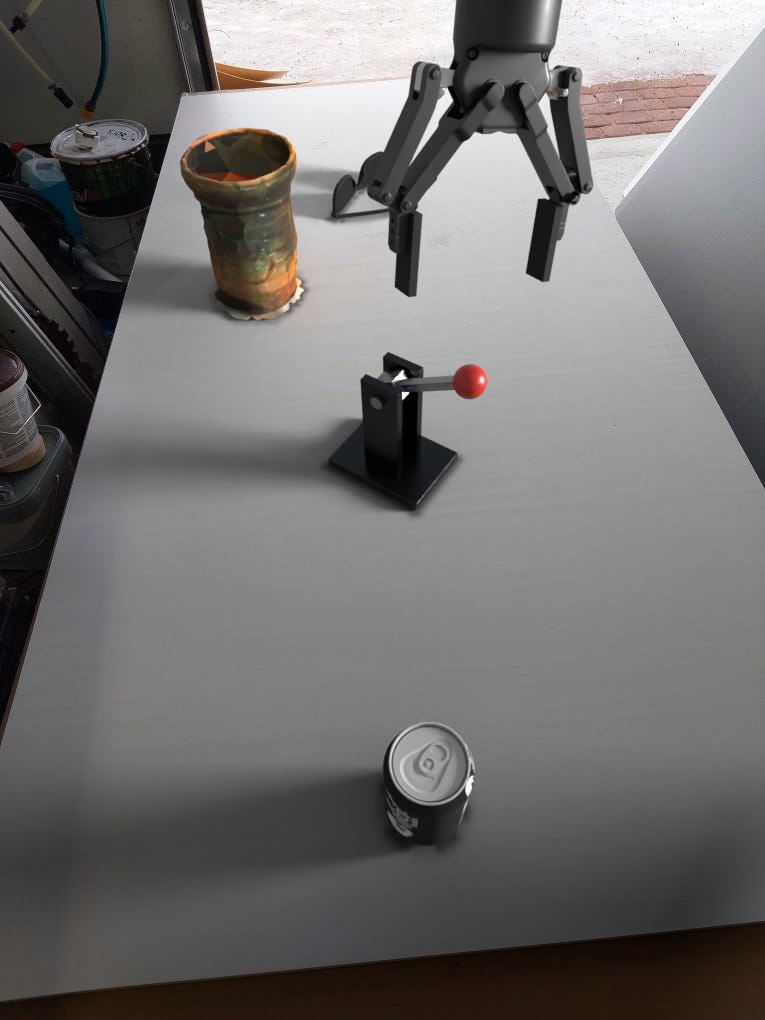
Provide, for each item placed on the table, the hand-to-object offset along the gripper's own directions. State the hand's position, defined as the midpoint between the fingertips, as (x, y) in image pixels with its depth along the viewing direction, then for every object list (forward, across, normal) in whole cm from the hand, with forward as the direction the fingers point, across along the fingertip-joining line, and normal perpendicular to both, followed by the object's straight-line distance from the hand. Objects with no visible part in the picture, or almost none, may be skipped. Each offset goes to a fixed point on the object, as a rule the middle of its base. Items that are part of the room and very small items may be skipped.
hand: (473, 284), depth 61 cm
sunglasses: (+7, -19, -57) cm, 61 cm away
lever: (+11, +2, -1) cm, 12 cm away
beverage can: (+35, +15, +25) cm, 45 cm away
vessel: (+15, +6, -46) cm, 48 cm away
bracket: (+23, +2, -9) cm, 25 cm away
